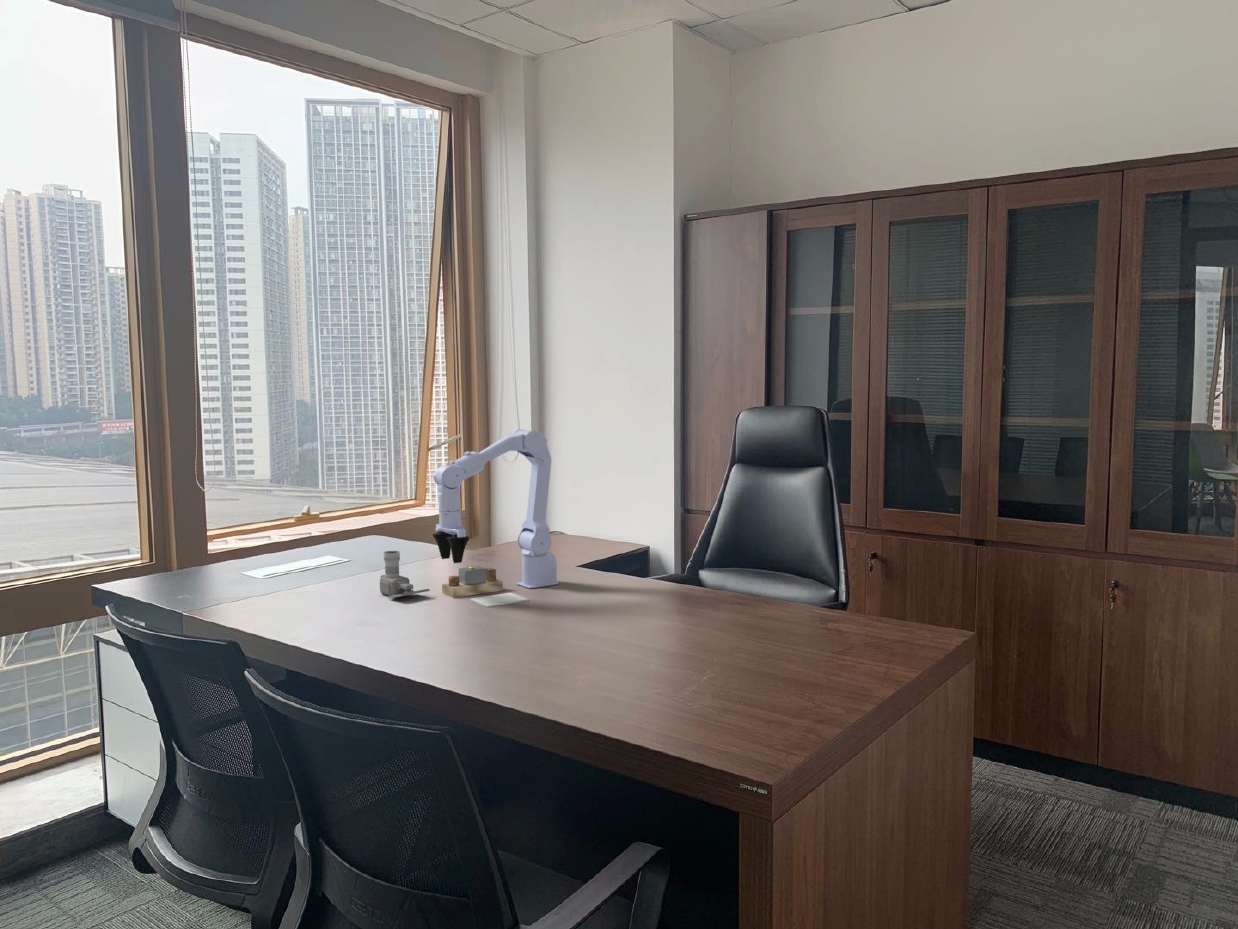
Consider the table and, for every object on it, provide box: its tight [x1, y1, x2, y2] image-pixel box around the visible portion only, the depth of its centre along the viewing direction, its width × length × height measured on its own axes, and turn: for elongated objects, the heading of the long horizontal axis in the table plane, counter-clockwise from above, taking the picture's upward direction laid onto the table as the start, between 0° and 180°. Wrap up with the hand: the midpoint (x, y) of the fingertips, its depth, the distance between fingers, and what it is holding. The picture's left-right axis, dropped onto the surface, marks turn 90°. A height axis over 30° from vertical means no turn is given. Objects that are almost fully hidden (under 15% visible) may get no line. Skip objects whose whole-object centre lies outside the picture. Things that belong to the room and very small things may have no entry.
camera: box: [379, 550, 430, 599], centre depth 252 cm, size 9×12×15 cm
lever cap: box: [458, 565, 487, 586], centre depth 257 cm, size 6×4×4 cm
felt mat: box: [470, 592, 529, 608], centre depth 246 cm, size 12×10×1 cm
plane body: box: [441, 567, 504, 599], centre depth 257 cm, size 15×7×6 cm, turn 125°
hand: (451, 560), depth 251 cm, fingers open, 7 cm apart
